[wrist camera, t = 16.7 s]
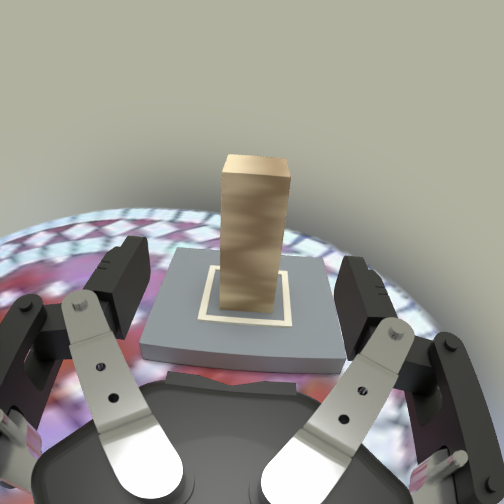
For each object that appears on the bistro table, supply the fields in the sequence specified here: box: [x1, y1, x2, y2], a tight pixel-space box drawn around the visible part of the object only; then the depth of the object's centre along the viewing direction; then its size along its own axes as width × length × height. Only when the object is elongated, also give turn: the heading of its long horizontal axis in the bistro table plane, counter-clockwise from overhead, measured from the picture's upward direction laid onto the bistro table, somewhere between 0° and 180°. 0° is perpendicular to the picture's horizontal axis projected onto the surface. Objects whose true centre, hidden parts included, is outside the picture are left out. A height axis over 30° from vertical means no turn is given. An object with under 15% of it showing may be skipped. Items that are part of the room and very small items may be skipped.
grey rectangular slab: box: [139, 247, 346, 374], centre depth 29 cm, size 16×14×2 cm
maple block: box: [220, 154, 291, 313], centre depth 26 cm, size 4×4×12 cm
